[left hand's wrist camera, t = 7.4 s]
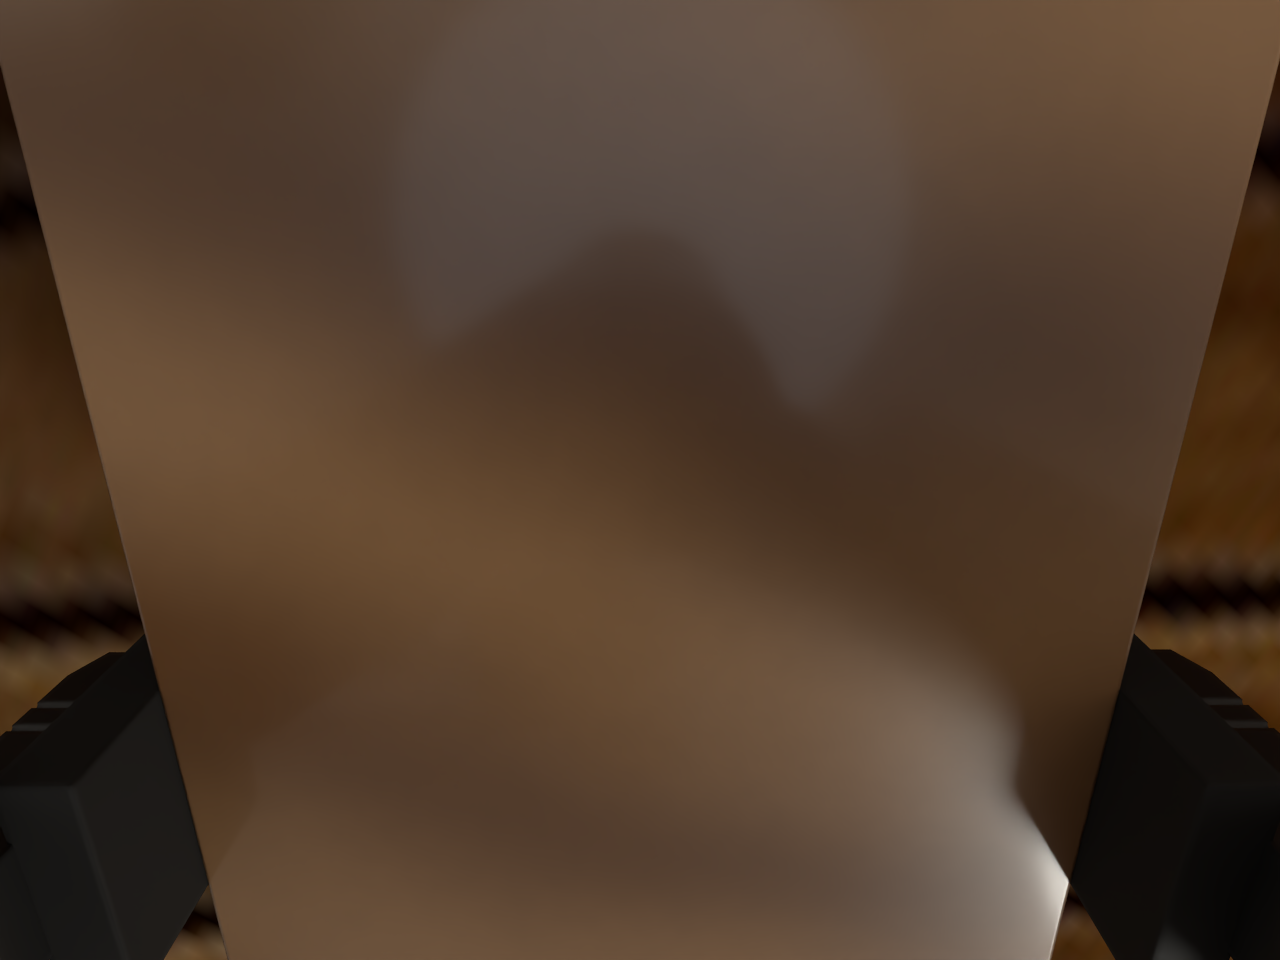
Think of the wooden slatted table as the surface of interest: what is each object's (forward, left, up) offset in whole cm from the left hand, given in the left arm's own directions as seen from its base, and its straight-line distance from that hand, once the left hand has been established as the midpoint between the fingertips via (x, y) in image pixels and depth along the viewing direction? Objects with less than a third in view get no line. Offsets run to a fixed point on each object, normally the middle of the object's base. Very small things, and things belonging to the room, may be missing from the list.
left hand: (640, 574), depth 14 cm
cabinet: (0, +6, -3) cm, 7 cm away
